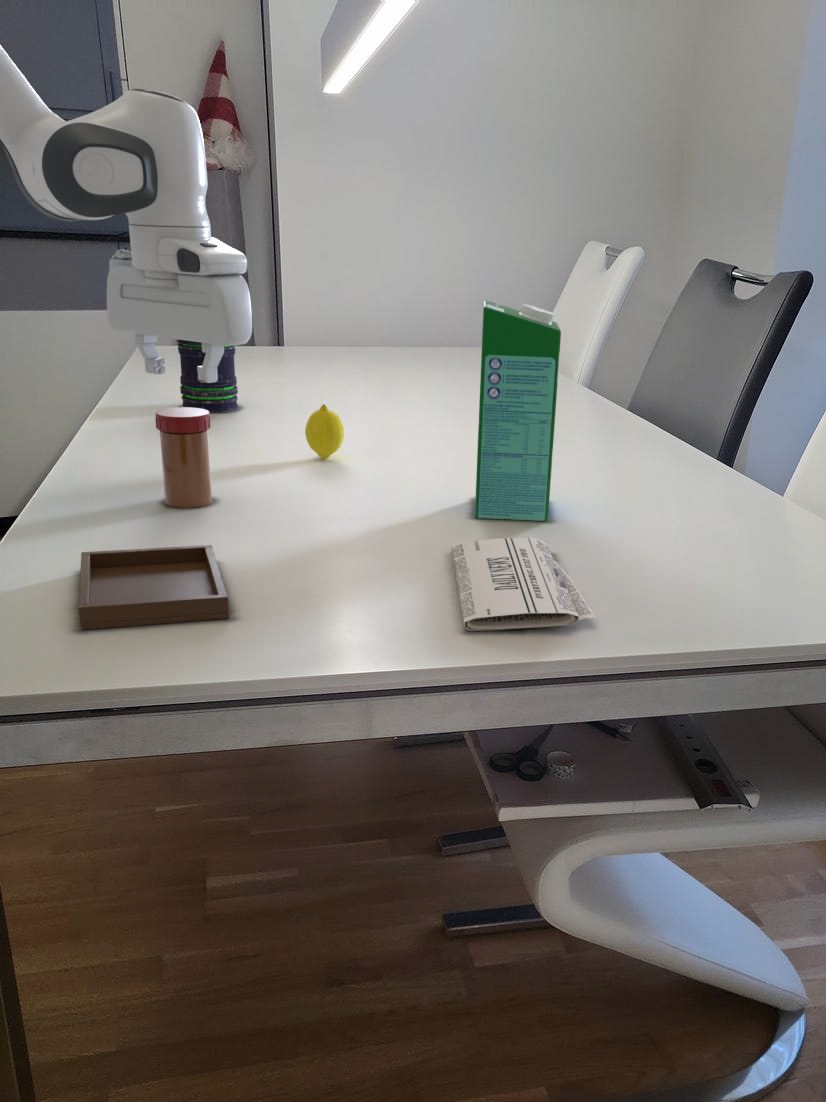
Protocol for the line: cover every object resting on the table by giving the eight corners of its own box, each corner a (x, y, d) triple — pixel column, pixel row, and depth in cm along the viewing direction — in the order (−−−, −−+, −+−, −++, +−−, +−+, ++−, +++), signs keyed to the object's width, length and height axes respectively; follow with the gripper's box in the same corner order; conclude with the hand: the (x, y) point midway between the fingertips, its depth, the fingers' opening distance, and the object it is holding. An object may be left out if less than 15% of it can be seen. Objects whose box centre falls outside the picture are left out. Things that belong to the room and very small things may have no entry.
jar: (155, 502, 127) (148, 416, 123) (189, 493, 132) (183, 409, 127) (188, 510, 125) (182, 422, 120) (221, 501, 129) (216, 416, 125)
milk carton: (547, 521, 127) (562, 309, 117) (474, 518, 127) (483, 305, 117) (544, 502, 135) (558, 302, 126) (475, 499, 135) (484, 299, 125)
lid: (145, 428, 123) (143, 412, 123) (184, 420, 128) (183, 405, 128) (182, 435, 121) (181, 419, 120) (221, 427, 126) (220, 412, 125)
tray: (83, 571, 103) (81, 552, 102) (212, 563, 107) (211, 544, 106) (81, 630, 90) (78, 607, 89) (229, 618, 94) (228, 596, 93)
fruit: (322, 465, 148) (321, 409, 145) (298, 458, 152) (296, 403, 149) (351, 459, 152) (351, 405, 149) (327, 453, 156) (326, 399, 153)
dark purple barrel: (247, 410, 183) (243, 323, 177) (193, 414, 178) (187, 324, 172) (226, 401, 191) (221, 316, 185) (173, 404, 185) (167, 318, 179)
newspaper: (598, 632, 94) (597, 607, 93) (465, 643, 94) (463, 618, 93) (561, 552, 115) (560, 531, 114) (451, 561, 115) (450, 539, 113)
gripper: (87, 248, 119) (100, 370, 125) (217, 259, 110) (225, 391, 115) (130, 247, 124) (140, 365, 130) (258, 257, 115) (263, 384, 120)
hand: (181, 377), depth 122 cm, fingers open, 7 cm apart
